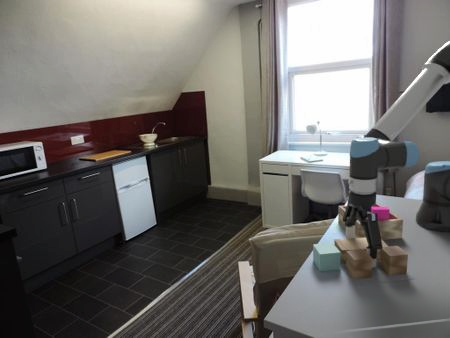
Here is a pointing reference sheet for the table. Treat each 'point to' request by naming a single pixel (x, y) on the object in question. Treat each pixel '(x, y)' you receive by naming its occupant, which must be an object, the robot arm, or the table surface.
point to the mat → (378, 276)
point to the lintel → (353, 246)
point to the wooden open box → (386, 226)
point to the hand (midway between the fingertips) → (359, 255)
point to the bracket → (381, 212)
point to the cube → (326, 256)
